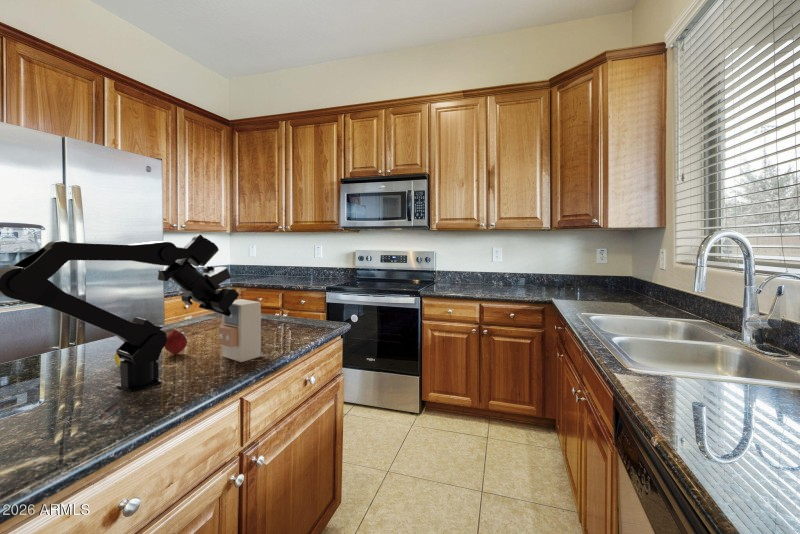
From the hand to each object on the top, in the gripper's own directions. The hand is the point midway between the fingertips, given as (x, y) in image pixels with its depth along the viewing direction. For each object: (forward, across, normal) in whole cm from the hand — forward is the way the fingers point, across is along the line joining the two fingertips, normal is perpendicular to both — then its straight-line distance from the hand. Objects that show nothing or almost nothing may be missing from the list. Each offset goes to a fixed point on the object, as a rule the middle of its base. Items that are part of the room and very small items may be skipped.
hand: (229, 314), depth 104 cm
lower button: (+6, 0, +6) cm, 9 cm away
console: (+12, 0, +6) cm, 14 cm away
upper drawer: (+3, 0, +1) cm, 3 cm away
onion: (+5, +17, +14) cm, 22 cm away
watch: (-4, +16, +22) cm, 28 cm away
